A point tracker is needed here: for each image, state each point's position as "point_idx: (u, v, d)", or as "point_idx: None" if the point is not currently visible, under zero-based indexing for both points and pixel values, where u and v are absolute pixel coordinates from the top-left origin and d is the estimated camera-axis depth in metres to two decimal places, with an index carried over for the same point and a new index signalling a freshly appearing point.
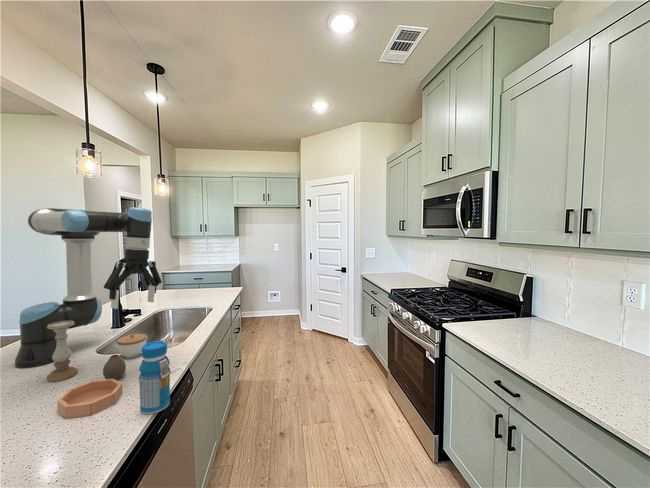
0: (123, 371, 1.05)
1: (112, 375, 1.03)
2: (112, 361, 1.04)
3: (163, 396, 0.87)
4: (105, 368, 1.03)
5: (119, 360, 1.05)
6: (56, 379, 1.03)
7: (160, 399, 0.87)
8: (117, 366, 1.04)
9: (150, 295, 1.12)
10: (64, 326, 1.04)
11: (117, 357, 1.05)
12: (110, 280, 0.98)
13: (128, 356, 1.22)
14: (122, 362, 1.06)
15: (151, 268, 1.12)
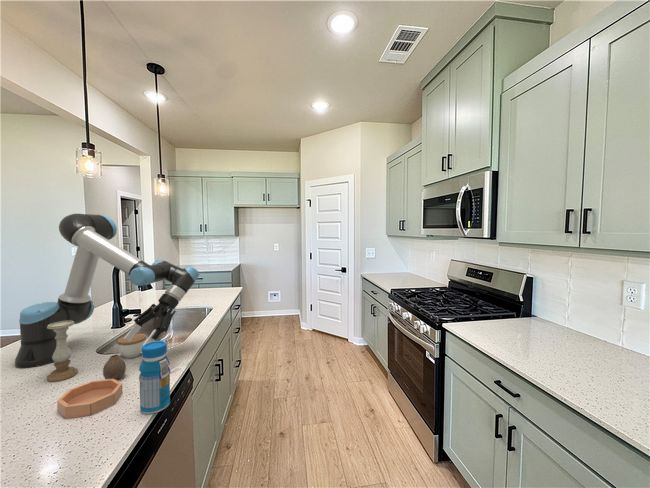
0: (123, 371, 1.05)
1: (112, 375, 1.03)
2: (112, 361, 1.04)
3: (163, 396, 0.87)
4: (105, 368, 1.03)
5: (119, 360, 1.05)
6: (56, 379, 1.03)
7: (160, 399, 0.87)
8: (117, 366, 1.04)
9: (132, 334, 1.16)
10: (64, 326, 1.04)
11: (117, 357, 1.05)
12: (167, 323, 1.13)
13: (128, 356, 1.22)
14: (122, 362, 1.06)
15: (151, 310, 1.22)
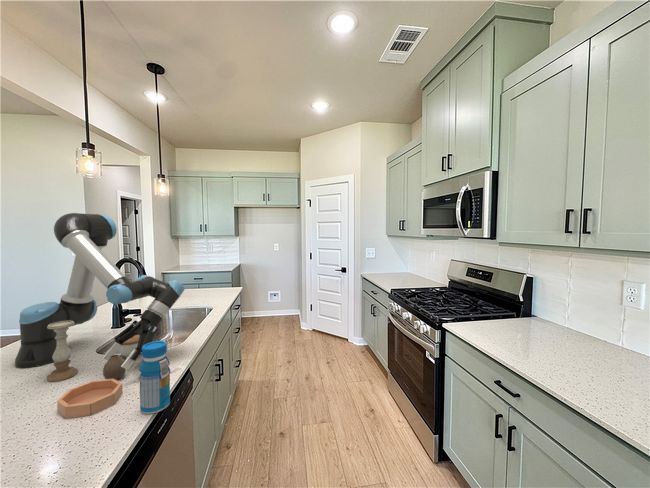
0: (123, 371, 1.05)
1: (112, 375, 1.03)
2: (112, 361, 1.04)
3: (163, 396, 0.87)
4: (105, 368, 1.03)
5: (119, 360, 1.05)
6: (56, 379, 1.03)
7: (160, 399, 0.87)
8: (117, 366, 1.04)
9: (111, 353, 1.10)
10: (64, 326, 1.04)
11: (117, 357, 1.05)
12: None
13: (128, 356, 1.22)
14: (122, 362, 1.06)
15: (132, 328, 1.16)
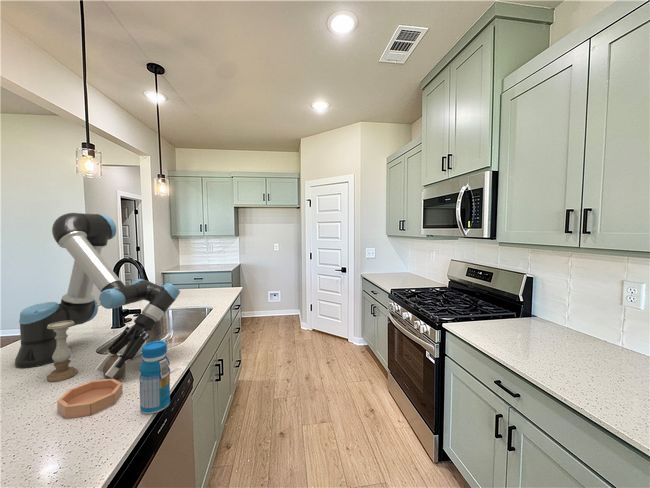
0: (123, 371, 1.05)
1: None
2: (112, 361, 1.04)
3: (163, 396, 0.87)
4: (105, 368, 1.03)
5: None
6: (56, 379, 1.03)
7: (160, 399, 0.87)
8: None
9: None
10: (64, 326, 1.04)
11: (117, 357, 1.05)
12: (135, 351, 1.05)
13: None
14: None
15: None
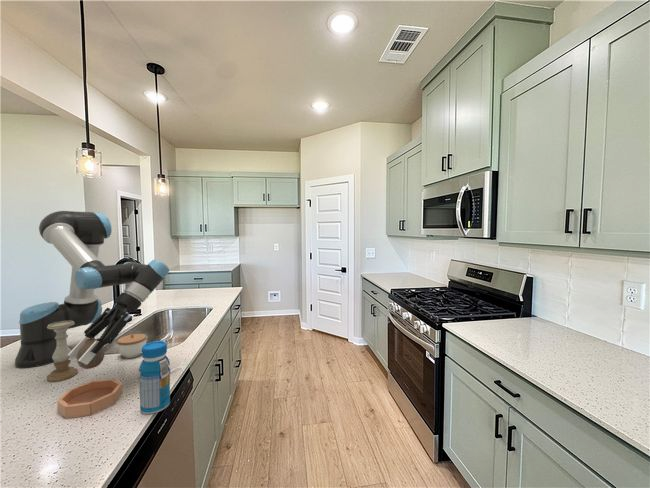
0: (101, 357, 0.91)
1: None
2: (88, 346, 0.89)
3: (163, 396, 0.87)
4: (79, 353, 0.88)
5: None
6: (56, 379, 1.03)
7: (160, 399, 0.87)
8: None
9: None
10: (64, 326, 1.04)
11: (94, 341, 0.90)
12: (114, 334, 0.90)
13: (128, 356, 1.22)
14: None
15: None
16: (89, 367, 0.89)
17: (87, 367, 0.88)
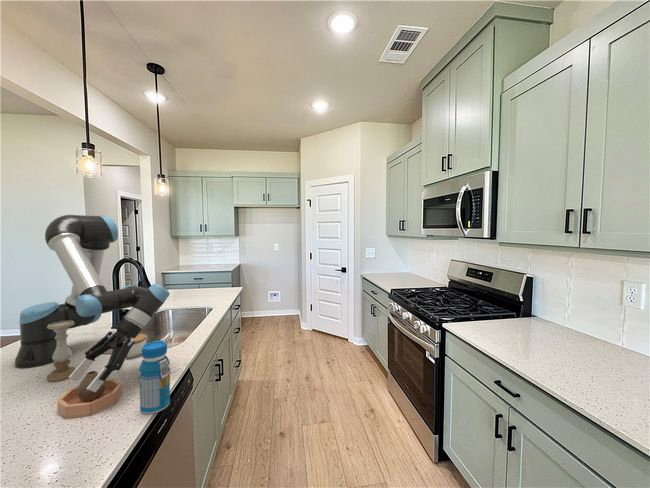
0: (101, 390, 0.91)
1: (88, 395, 0.88)
2: (89, 379, 0.89)
3: (163, 396, 0.87)
4: (80, 387, 0.88)
5: None
6: (56, 379, 1.03)
7: (160, 399, 0.87)
8: None
9: (80, 372, 0.93)
10: (64, 326, 1.04)
11: (95, 374, 0.91)
12: (121, 360, 0.91)
13: (128, 356, 1.22)
14: None
15: (107, 340, 1.00)
16: (89, 401, 0.89)
17: (88, 401, 0.89)
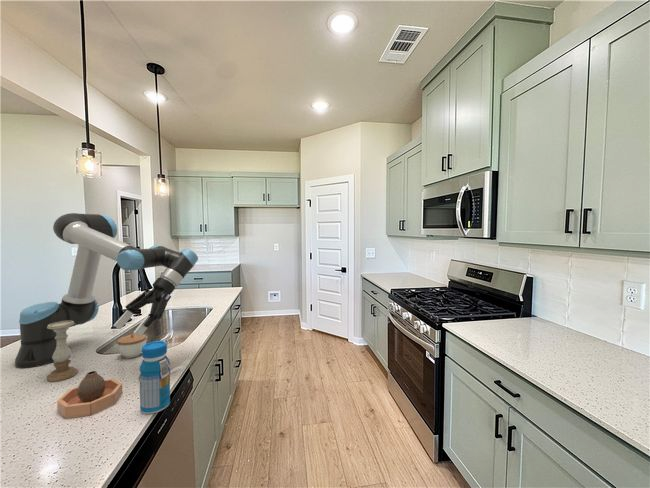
0: (101, 390, 0.91)
1: (88, 395, 0.88)
2: (89, 379, 0.89)
3: (163, 396, 0.87)
4: (80, 387, 0.88)
5: (97, 378, 0.91)
6: (56, 379, 1.03)
7: (160, 399, 0.87)
8: (94, 385, 0.89)
9: (123, 321, 1.04)
10: (64, 326, 1.04)
11: (94, 374, 0.91)
12: (161, 310, 1.01)
13: (128, 356, 1.22)
14: (100, 380, 0.91)
15: None
16: (89, 401, 0.89)
17: (88, 401, 0.89)
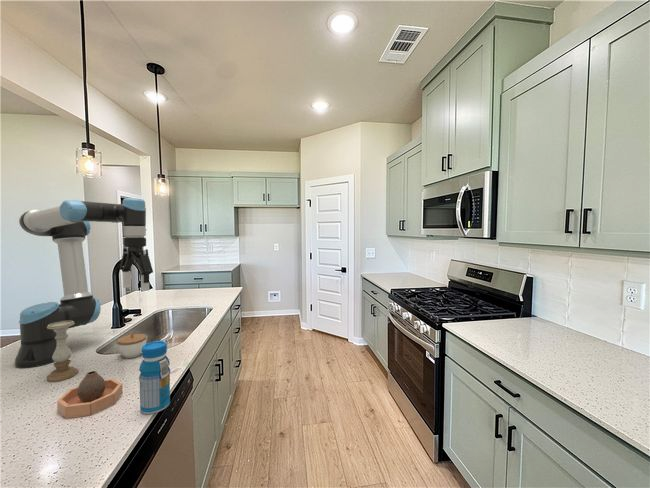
0: (101, 390, 0.91)
1: (88, 395, 0.88)
2: (89, 379, 0.89)
3: (163, 396, 0.87)
4: (80, 387, 0.88)
5: (97, 378, 0.91)
6: (56, 379, 1.03)
7: (160, 399, 0.87)
8: (94, 385, 0.89)
9: (128, 281, 1.18)
10: (64, 326, 1.04)
11: (94, 374, 0.91)
12: (148, 265, 1.10)
13: (128, 356, 1.22)
14: (100, 380, 0.91)
15: (127, 255, 1.17)
16: (89, 401, 0.89)
17: (88, 401, 0.89)
